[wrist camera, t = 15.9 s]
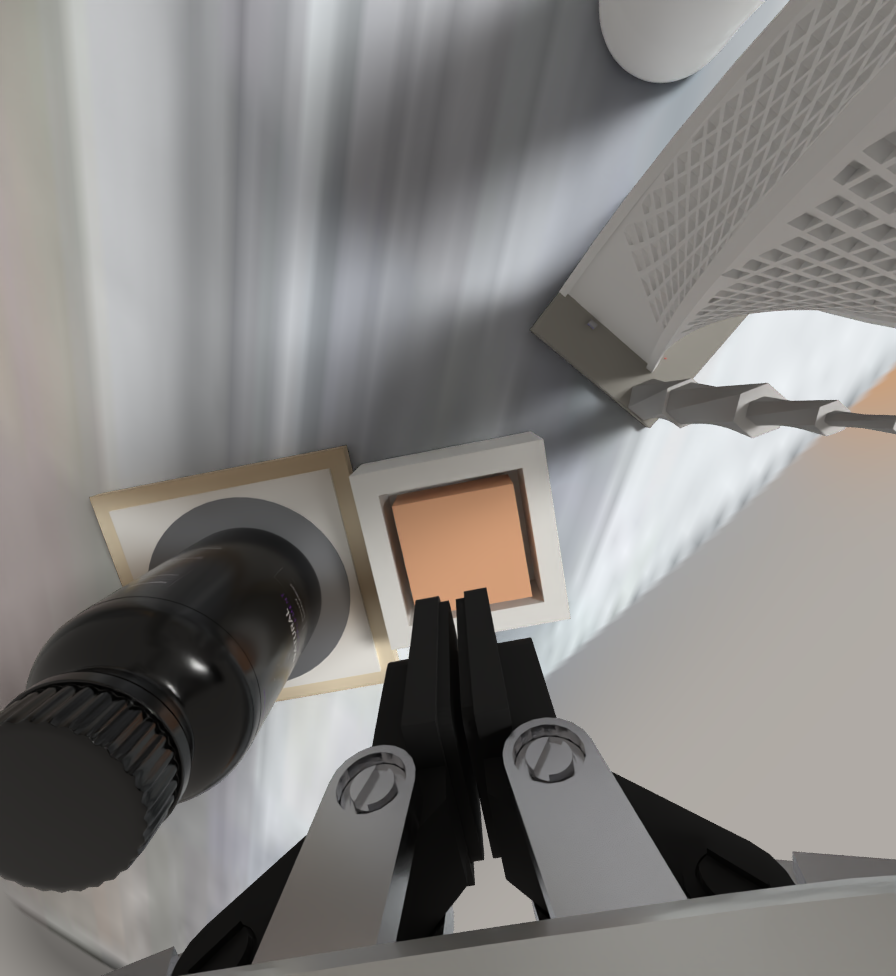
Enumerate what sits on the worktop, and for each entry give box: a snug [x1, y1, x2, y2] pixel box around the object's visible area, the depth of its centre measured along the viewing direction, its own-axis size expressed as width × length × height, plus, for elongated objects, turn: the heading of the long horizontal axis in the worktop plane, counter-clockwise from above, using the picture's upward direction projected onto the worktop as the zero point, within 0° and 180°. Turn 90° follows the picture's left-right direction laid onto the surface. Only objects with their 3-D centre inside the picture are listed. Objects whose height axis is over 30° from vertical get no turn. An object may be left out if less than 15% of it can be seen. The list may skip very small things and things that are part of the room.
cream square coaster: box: [89, 445, 399, 702], centre depth 23 cm, size 12×12×1 cm
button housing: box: [349, 431, 571, 650], centre depth 22 cm, size 8×8×3 cm
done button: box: [392, 474, 532, 611], centre depth 21 cm, size 5×5×2 cm
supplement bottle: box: [0, 527, 322, 893], centre depth 17 cm, size 7×7×12 cm
